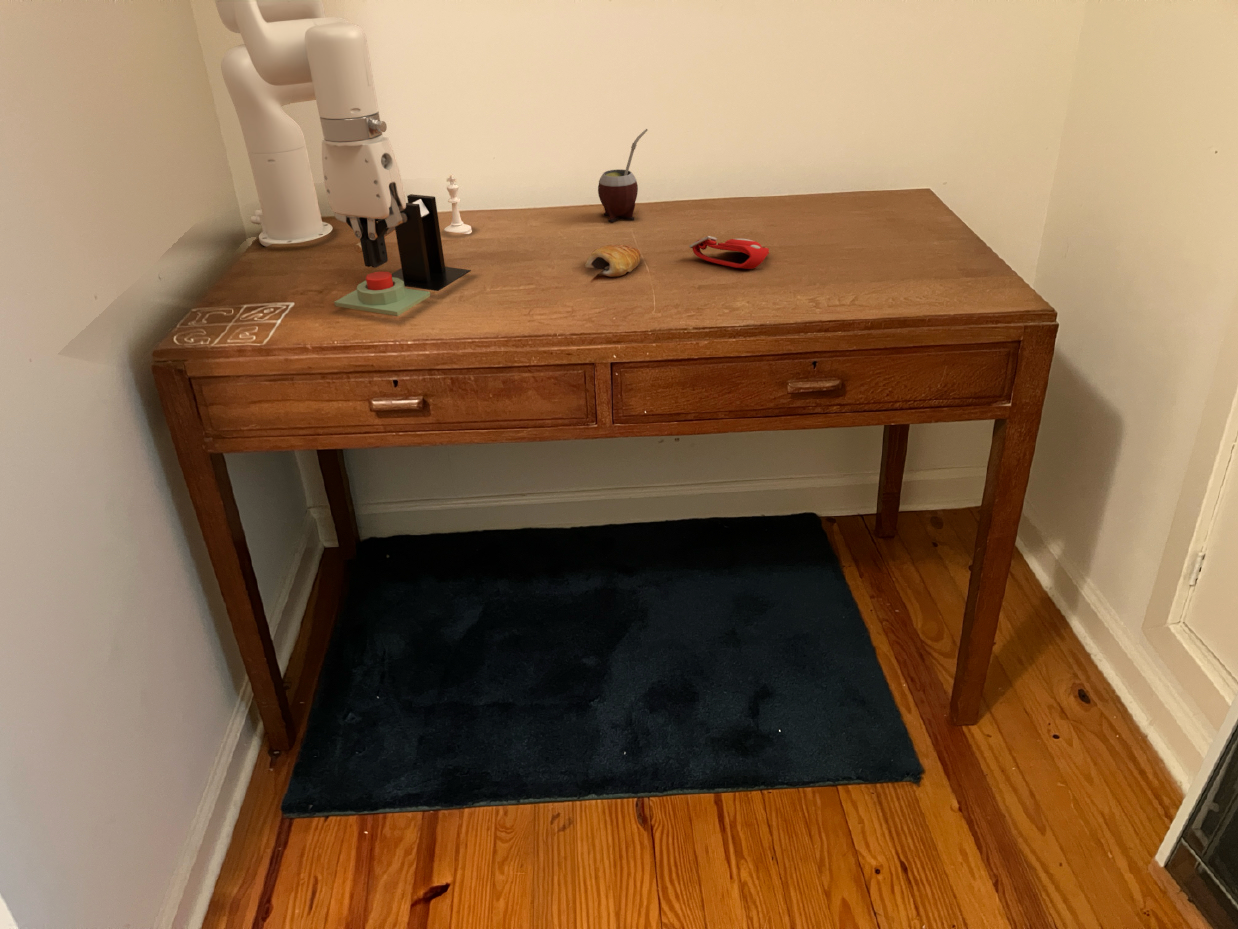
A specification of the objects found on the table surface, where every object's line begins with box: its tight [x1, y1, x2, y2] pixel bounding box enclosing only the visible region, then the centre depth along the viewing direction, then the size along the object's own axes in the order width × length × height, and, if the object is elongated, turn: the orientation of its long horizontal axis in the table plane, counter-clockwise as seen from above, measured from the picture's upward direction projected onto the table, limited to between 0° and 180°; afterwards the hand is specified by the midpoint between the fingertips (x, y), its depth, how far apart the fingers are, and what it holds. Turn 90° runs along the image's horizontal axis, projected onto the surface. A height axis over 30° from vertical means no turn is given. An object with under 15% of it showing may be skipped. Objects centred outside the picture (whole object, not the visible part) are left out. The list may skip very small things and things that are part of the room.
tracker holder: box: [688, 235, 770, 270], centre depth 143 cm, size 12×4×10 cm
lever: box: [353, 199, 429, 254], centre depth 138 cm, size 13×6×2 cm, turn 65°
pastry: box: [584, 244, 641, 278], centre depth 142 cm, size 9×7×4 cm
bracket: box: [391, 193, 472, 292], centre depth 137 cm, size 11×9×13 cm
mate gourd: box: [597, 128, 649, 224], centre depth 162 cm, size 8×8×15 cm
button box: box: [333, 277, 431, 317], centre depth 132 cm, size 11×8×4 cm
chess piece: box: [443, 174, 473, 235], centre depth 159 cm, size 5×5×10 cm
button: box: [365, 271, 393, 290], centre depth 130 cm, size 4×4×2 cm
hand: (376, 263), depth 129 cm, fingers closed
